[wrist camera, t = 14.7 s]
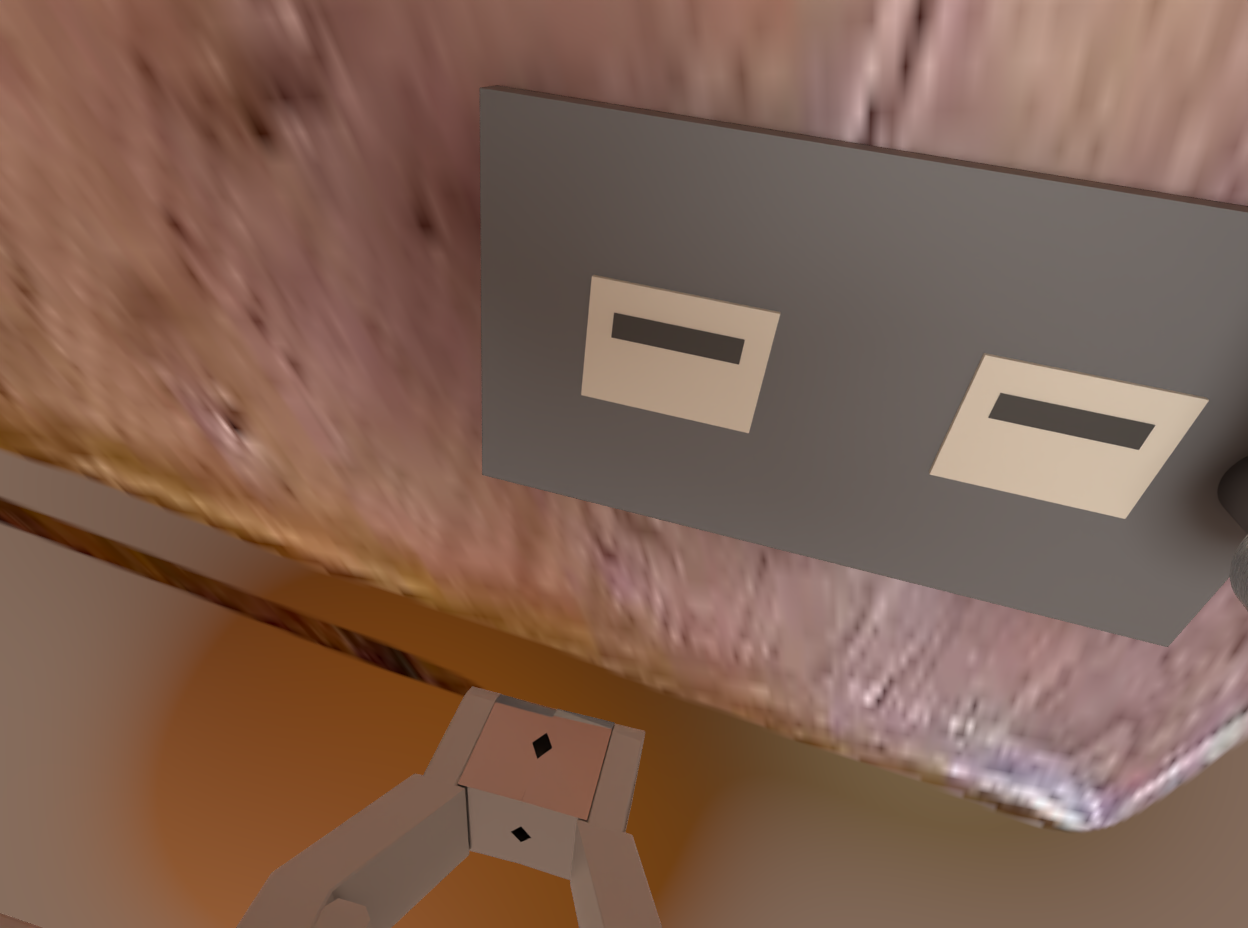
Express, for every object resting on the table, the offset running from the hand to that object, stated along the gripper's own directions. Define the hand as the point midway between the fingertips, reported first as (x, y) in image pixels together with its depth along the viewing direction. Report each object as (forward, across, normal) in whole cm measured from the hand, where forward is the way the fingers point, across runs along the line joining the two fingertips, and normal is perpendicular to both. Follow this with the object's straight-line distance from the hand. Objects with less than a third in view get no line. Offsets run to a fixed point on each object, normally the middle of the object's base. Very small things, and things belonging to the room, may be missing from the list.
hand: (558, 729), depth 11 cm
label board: (+18, -6, +1) cm, 19 cm away
